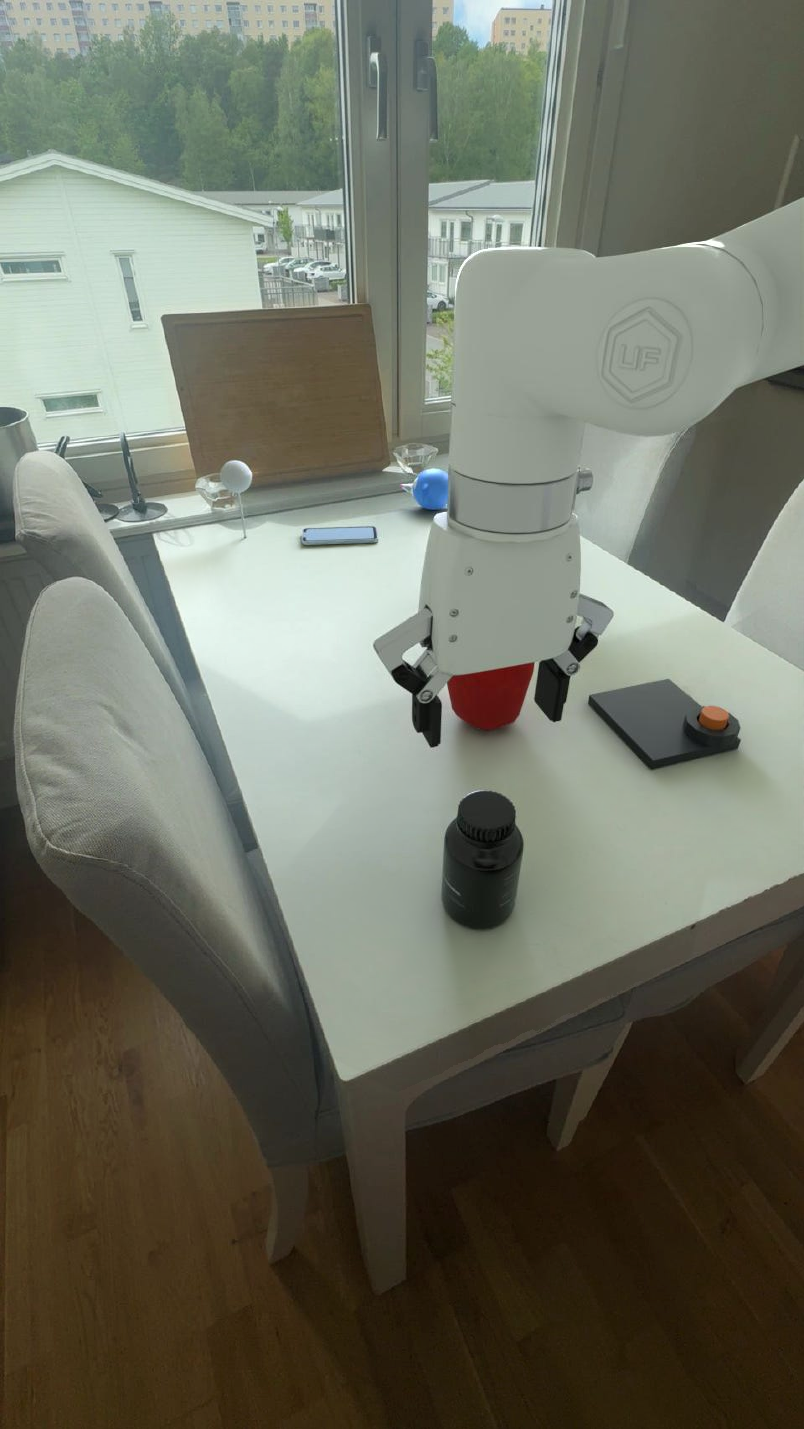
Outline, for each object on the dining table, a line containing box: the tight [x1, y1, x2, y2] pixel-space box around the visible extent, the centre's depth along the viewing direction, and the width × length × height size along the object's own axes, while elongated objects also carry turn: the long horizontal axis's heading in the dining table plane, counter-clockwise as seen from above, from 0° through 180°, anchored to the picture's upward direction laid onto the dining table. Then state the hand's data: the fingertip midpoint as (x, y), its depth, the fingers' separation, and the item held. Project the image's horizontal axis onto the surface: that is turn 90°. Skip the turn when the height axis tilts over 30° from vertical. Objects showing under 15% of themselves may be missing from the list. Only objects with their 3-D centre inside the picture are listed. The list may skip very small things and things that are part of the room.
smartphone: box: [301, 525, 379, 546], centre depth 136 cm, size 7×1×15 cm
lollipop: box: [219, 460, 253, 538], centre depth 133 cm, size 6×6×15 cm
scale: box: [587, 678, 742, 771], centre depth 83 cm, size 14×12×3 cm
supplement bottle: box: [441, 789, 524, 931], centre depth 59 cm, size 7×7×12 cm
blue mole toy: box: [399, 468, 448, 511], centre depth 147 cm, size 12×12×8 cm
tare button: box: [699, 705, 729, 730], centre depth 80 cm, size 3×3×2 cm
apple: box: [446, 662, 536, 732], centre depth 82 cm, size 10×10×14 cm
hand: (489, 723), depth 51 cm, fingers open, 9 cm apart
